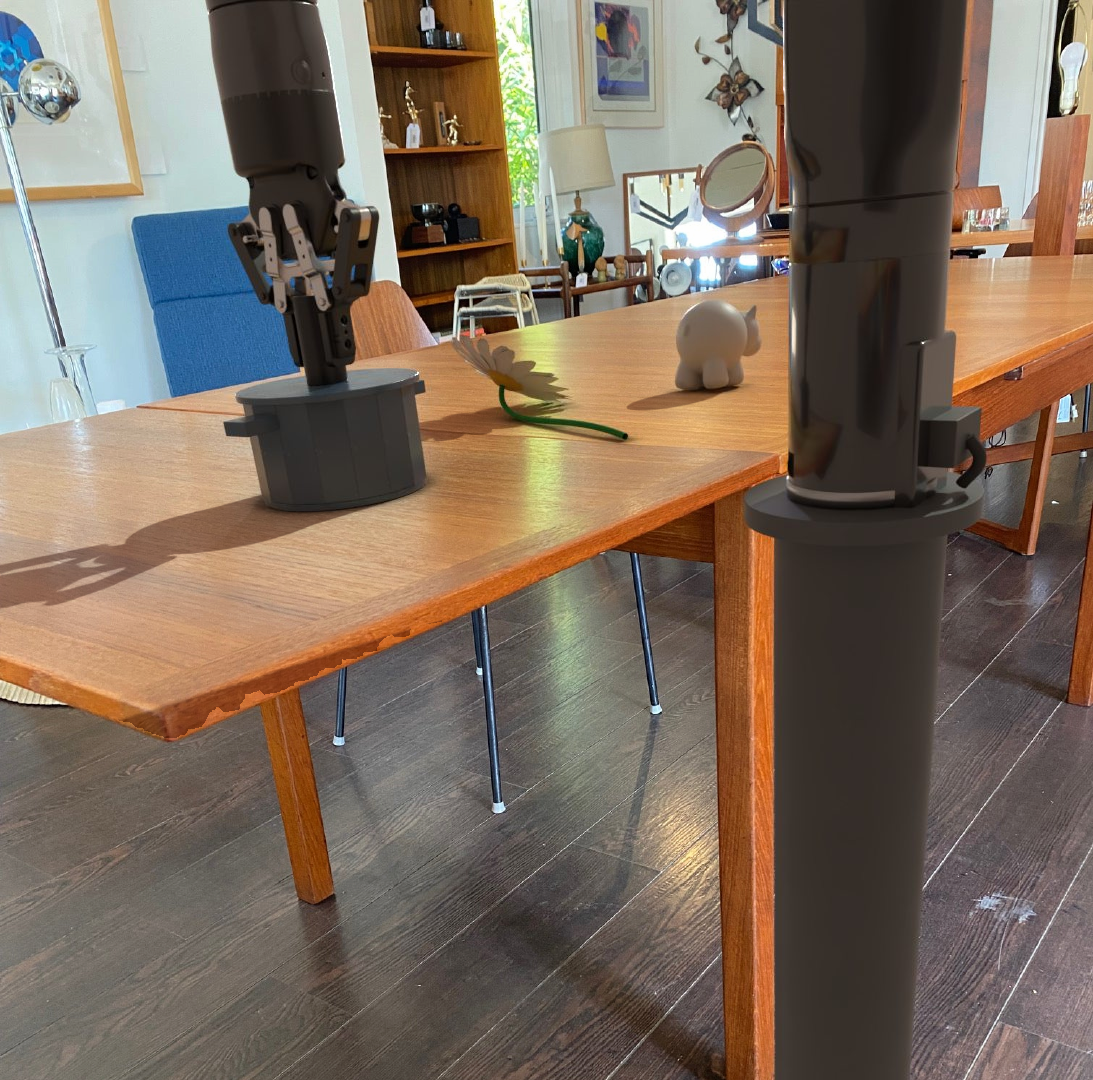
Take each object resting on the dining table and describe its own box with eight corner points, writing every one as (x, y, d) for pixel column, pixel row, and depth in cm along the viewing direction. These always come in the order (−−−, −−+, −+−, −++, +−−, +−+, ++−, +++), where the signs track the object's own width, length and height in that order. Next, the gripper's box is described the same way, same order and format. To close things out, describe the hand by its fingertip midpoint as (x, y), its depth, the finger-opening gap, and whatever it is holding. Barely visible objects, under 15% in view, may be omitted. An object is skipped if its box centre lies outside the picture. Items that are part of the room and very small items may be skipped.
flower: (585, 371, 85) (437, 316, 108) (554, 435, 86) (415, 367, 109) (697, 437, 93) (537, 373, 116) (667, 495, 94) (515, 420, 117)
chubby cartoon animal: (788, 376, 113) (788, 290, 110) (718, 395, 106) (716, 303, 103) (733, 374, 118) (732, 291, 115) (663, 392, 111) (659, 305, 107)
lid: (457, 383, 79) (444, 280, 76) (323, 417, 70) (302, 301, 67) (336, 382, 87) (320, 289, 84) (200, 412, 78) (177, 309, 75)
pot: (482, 468, 84) (470, 370, 81) (312, 527, 72) (290, 413, 69) (373, 461, 91) (358, 370, 88) (201, 513, 79) (177, 409, 76)
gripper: (392, 77, 69) (429, 357, 76) (255, 108, 77) (300, 358, 84) (304, 73, 64) (353, 374, 71) (167, 107, 72) (223, 374, 79)
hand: (324, 364), depth 78 cm, fingers closed on lid, 3 cm apart
